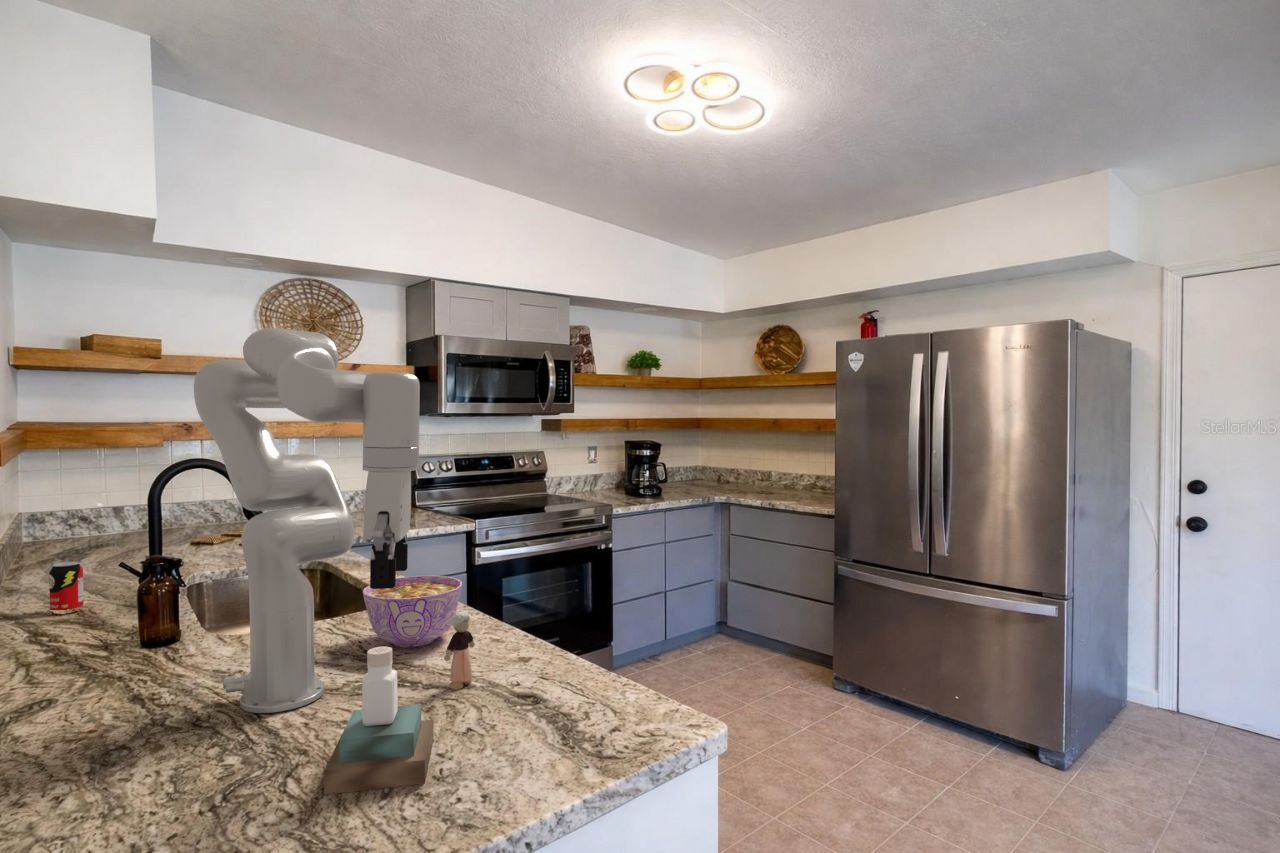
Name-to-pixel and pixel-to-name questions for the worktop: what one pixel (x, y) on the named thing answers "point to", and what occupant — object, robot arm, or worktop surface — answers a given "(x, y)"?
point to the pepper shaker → (379, 688)
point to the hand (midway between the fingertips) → (389, 578)
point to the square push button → (380, 753)
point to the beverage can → (66, 585)
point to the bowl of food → (413, 609)
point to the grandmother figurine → (460, 651)
